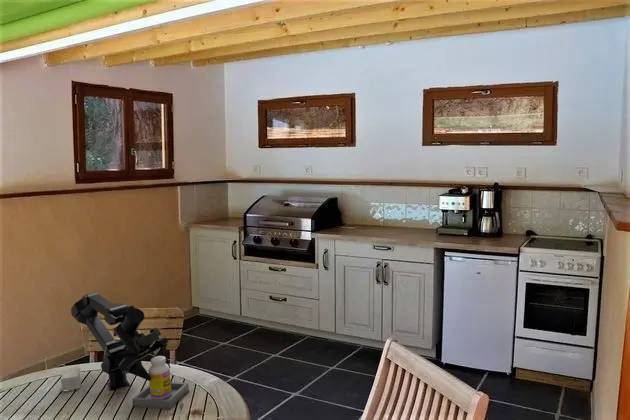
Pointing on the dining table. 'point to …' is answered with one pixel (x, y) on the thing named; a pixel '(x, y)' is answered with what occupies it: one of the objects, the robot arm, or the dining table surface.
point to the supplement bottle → (159, 378)
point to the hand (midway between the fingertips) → (160, 374)
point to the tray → (146, 401)
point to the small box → (71, 380)
